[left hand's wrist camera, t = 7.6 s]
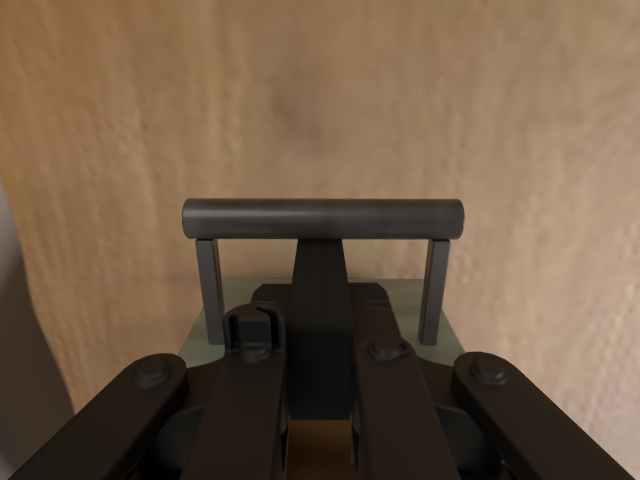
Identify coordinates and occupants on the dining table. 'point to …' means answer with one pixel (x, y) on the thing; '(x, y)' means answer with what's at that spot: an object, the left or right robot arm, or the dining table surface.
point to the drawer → (404, 294)
